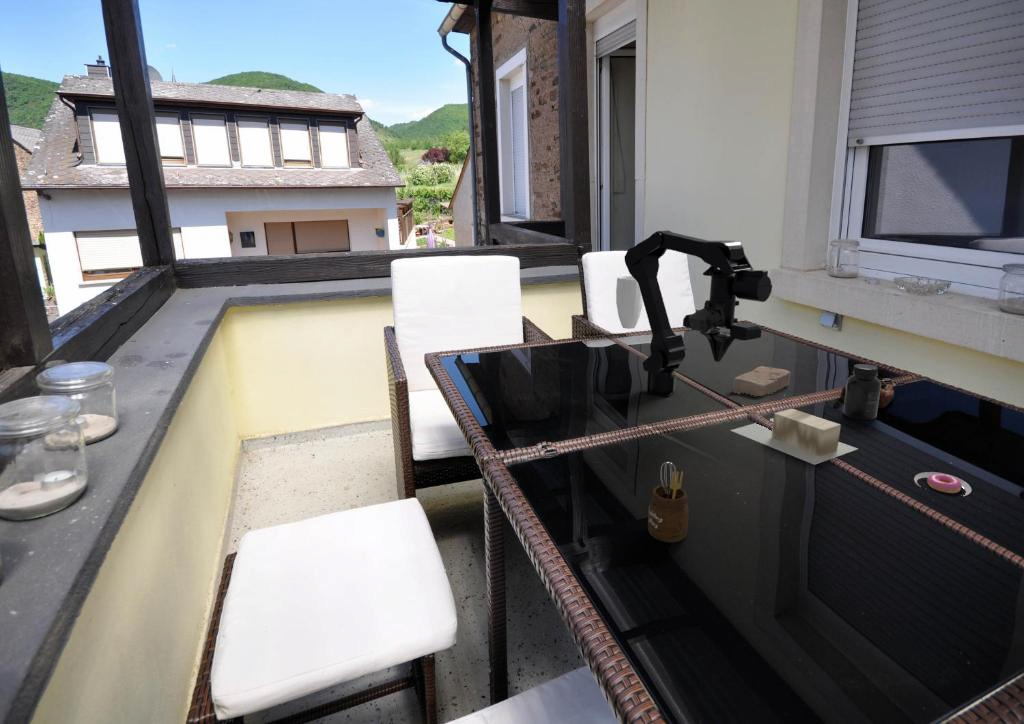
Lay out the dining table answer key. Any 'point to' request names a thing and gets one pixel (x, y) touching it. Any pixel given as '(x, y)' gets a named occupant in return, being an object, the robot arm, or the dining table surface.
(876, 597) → the dining table surface
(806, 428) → the block
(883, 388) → the pastry
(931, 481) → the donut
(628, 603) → the dining table surface
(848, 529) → the dining table surface
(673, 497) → the utensil holder
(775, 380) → the brick
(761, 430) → the mat
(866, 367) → the supplement bottle
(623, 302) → the cup
